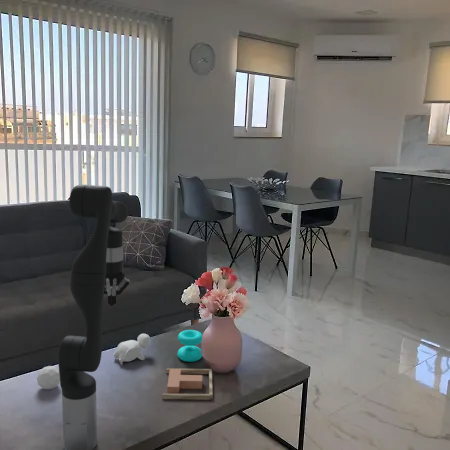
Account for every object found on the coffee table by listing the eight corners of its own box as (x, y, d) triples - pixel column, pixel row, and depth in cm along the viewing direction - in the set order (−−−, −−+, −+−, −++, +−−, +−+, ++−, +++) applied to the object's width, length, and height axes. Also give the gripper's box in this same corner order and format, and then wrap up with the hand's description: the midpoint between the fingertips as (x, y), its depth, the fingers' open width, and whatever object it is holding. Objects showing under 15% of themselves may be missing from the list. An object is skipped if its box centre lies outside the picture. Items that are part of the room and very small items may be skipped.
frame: (212, 399, 166) (212, 395, 165) (162, 398, 165) (162, 395, 165) (211, 372, 183) (211, 369, 183) (166, 371, 182) (166, 368, 182)
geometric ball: (43, 394, 169) (33, 373, 170) (65, 382, 172) (55, 361, 173) (42, 394, 162) (31, 373, 163) (64, 382, 165) (54, 360, 166)
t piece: (202, 395, 168) (202, 387, 168) (167, 394, 168) (167, 386, 167) (202, 377, 180) (202, 369, 179) (169, 376, 179) (169, 369, 179)
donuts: (201, 327, 198) (205, 338, 189) (200, 350, 200) (204, 362, 191) (176, 329, 196) (179, 340, 187) (176, 352, 198) (178, 364, 189)
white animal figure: (126, 373, 186) (158, 350, 194) (118, 356, 183) (151, 333, 190) (116, 363, 193) (147, 342, 200) (108, 347, 189) (141, 326, 197)
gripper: (90, 260, 166) (91, 308, 170) (129, 261, 167) (129, 309, 170) (95, 254, 173) (95, 300, 177) (132, 255, 174) (132, 301, 178)
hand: (112, 304), depth 174 cm, fingers closed
